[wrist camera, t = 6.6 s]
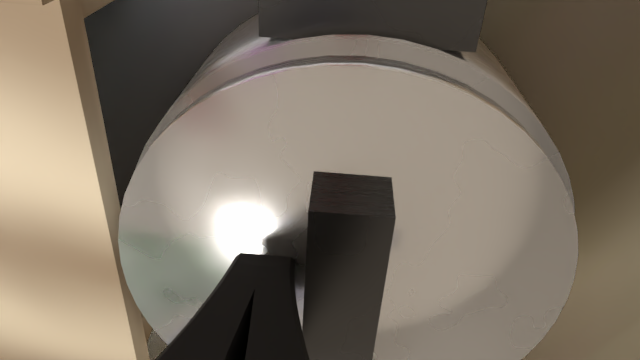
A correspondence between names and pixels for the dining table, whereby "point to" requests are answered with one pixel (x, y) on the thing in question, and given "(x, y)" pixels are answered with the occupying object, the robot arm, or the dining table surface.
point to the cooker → (369, 50)
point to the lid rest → (58, 196)
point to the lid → (357, 211)
